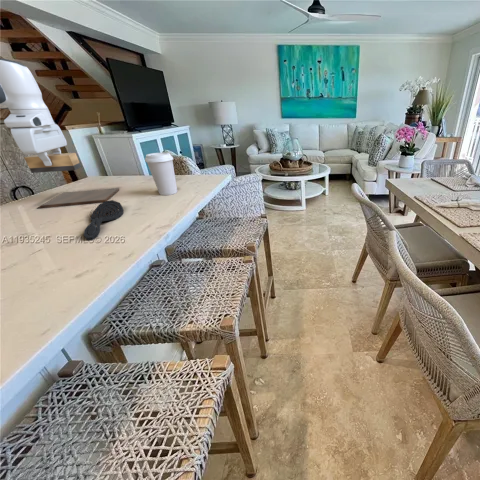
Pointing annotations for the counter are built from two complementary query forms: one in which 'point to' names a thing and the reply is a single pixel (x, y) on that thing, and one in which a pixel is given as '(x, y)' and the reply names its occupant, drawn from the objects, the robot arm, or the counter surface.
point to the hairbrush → (102, 217)
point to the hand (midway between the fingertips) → (54, 163)
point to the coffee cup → (162, 172)
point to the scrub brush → (59, 163)
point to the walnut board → (80, 198)
